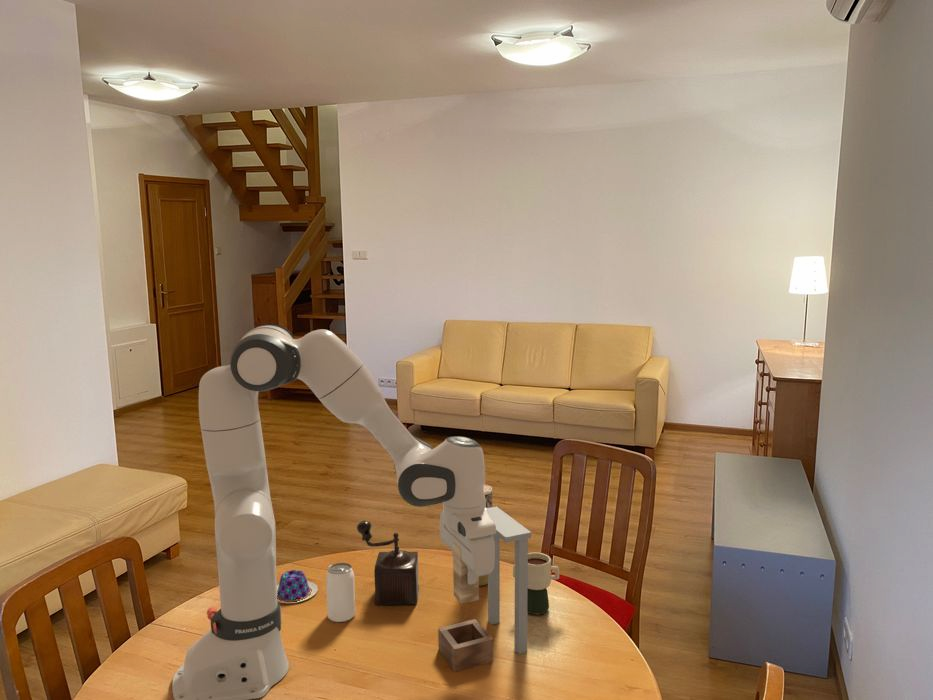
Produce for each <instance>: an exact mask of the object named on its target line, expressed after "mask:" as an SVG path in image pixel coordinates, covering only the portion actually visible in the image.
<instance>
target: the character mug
mask: <svg viewBox="0 0 933 700" xmlns="http://www.w3.org/2000/svg"><path fill="white" fill-rule="evenodd" d="M552 571H554V574H552ZM512 576H513V578H514V579H515V564H514V565H513V568H512ZM559 579H560V567H559V566H557V565H552V558H551V556H549V555H548V554H545V553H542V552H529V553H528V591H527V613H529V614H532V615H541V614H544V613H546V612H547V611H548V610H549V608H550V602H549V601H550V600H549V595H548V593H549V592H548V589H547V588H549V587H550V584H551V582H552V580H559Z"/></svg>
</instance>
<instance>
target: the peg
mask: <svg viewBox="0 0 933 700" xmlns="http://www.w3.org/2000/svg"><path fill="white" fill-rule="evenodd" d="M452 564H453V565H452V568H453V569H452V570H453V571H452V572H453V573H452V574H453V596H454V597H455V599H456V600H457V601H458V602H459V603H460V604H461V605H464V604H467V603H472V602H475V601H476V602H477V601H479V600H480V586H479V576H476V583H475V584H471V585H469V584H468V583H467V582H466V574H467V573H468V569H467V566H466V565H465V564H464V563H463V562H462V560H461V549H460V548H459V547H458V546H457V545H456V544H455V543H454V542H453V555H452Z"/></svg>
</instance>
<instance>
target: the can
mask: <svg viewBox="0 0 933 700" xmlns="http://www.w3.org/2000/svg"><path fill="white" fill-rule="evenodd" d="M352 568H353V567H352V565H351V564H350V563H348V562H336V563H333V564H331V565H329V566H328V567H327V572H326V575H325V583H326V585H325V586H326V607H327V608H326V613H327V618H328V619H329V621H332V622H334V623H345V622H349V621H350V620H352V619H353V618H354V617H355V615H356V599H355V597H356V593H355V573H354V570H353V569H352Z"/></svg>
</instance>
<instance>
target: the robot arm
mask: <svg viewBox="0 0 933 700" xmlns="http://www.w3.org/2000/svg"><path fill="white" fill-rule="evenodd" d="M229 358H230V359H229V364H228V365H221V366H217V367H214V368H212V369H210V370H208V371H207V372H205V373H204V374H203V375H202V377H201V378H200V381H199V385H198V416H199V417H198V419H199V425H200V431H201V438H202V444H203V452H204V456H205V457H204V459H205V464H206V469H207V473H208V477H209V483H210V487H211V492H212V494H211V495H212V500H213V505H214V539H215V549H216V550H215V551H216V561H217V572H218V585H219V586H218V587H219V588H218V589H219V602H220V605H219V606H220V608H219V610H218V609H217V608H216V607H215V606H210V607H209V608H208V609H207V610H206V615H207V616H206V617H207V619H208V620H209V621H210V629H209V630H208V631H206V633H204V634H203V635H202V636H201V637H200V638H199V639H197V640H196V641H195V642H194V643H193V644H191V645H190V647H189V648H188V650H187V652H186V655H185V658H184V662H183V663H184V664H183V665H181V666H180V667H179V668H178V669H177V670H176V672H175V673H174V675H173V677H172V684H171V691H172V697H173V700H253V699H254V700H255V699H260V698H263V697H265V695H266V694H267V693H268V692H269V691H270V689H271V688H272V687H273V686H274V685H276V684H277V683H278V682H280V681H281V680H282V679H283V678H284V677H285V676H286V675H287V673H288V672H289V668H290V662H289V660H288V657H287V654H286V652H285V649H284V648H285V647H284V644H283V640H282V633H281V630H282V610H281V609H282V608H281V603H279V601H278V599H279V598H278V597H277V596H278V594H277V585H278V583H277V582H278V581H277V579H278V578H277V542H276V541H277V539H276V537H277V536H276V535H277V534H276V532H277V531H276V519H275V515H274V509H273V504H272V499H271V498H272V497H271V489H270V484H269V476H268V468H267V460H266V459H267V457H266V452H265V451H266V450H265V445H264V437H263V429H262V421H261V416H260V415H261V414H260V409H259V392H266V391H270V390H274V389H277V388H279V387H281V386H283V385H287V384H290V383H294V382H295V381H296V380H299V381H302V382H303V383H304V384H305V385H306V386H308V388H309V389H310V390H311V392H312V393H313V394H314V395H315V397H316V398H317V399H318V400H319V401H320V403H322V405H323V406H324V407H325V408H326V409H327V410H328V411H329V412H330V413H331V414H332V415H334V417H335V418H336V419H338V420H340V421H341V422H343V423H345V424H356V425H360V426H363V427H364V428H365V429H367V430H368V431H369V432H370V434H371V435H373V437H374V438H375V439H376V440H377V442H379V444H380V445H381V447H383V449H385V452H387V453H388V454H389V456H390V457H391V460H392V462H393V468H394V471H395V474H396V480H397V481H396V483H397V490H398V493H399V495H400V496H401V498H402V499H403V501H404V502H406V503H407V504H409V505H411V506H414V507H420V508H421V507H428V506H434V505H438V504H441V503H442V511H441V512H440V515H439V517H440V519H439V537H440V541H441V542H442V543H443V544H444V545H445V546H446V547H447V548H448V549H449V550H450V551H451V553H452V556H453V542H454V543H455V544H456V545H457V546H458V547H459V548H460V549H461V560H462V562H463V563H464V564H465V565H466V566H467V569H468V573H467V574H466V582H467V583H468V584H469V585H471V584H475V583H476V576H483V575H487V574H491V573H492V571H493V570H494V563H495V543H494V538H493V536H492V535H493V534H496V525H495V523H494V522H493V520H492V519H491V517H490V515H489V513H488V510H487V508H486V499H485V495H484V485H486V465H485V455H484V450H483V447H482V446H481V445H480V444H479V442H477V441H476V440H474V439H472V438H470V437H466V436H458V435H457V436H456V435H454V436H449V437H446V438H445V439H444V441H443V442H441V443H440V444H438V445H437V446H436V447H434V446H432V445H431V444H429V443H428V442H426V441H424V440H421V439H420V438H418V437H416V436H414V434H412V433H411V432H410V431H409V429H408V428H407V427H406V426H405V425H404V423H403V422H402V421H401V420H400V419H399V418H398V416H397V415H396V414H395V413H394V412H393V410H392V409H391V408H390V407H389V405H388V403H387V401H386V399H385V397H384V395H383V393H382V392H383V391H381V388H380V387H379V385H378V382H377V381H376V380H375V378H374V376H373V374H372V373H371V372H370V370H369V369H368V368H367V366H366V365H365V364H364V363H363V361H362V360H361V359H360V357H359V356H358V355H357V354H356V353H355V352H354V351H353V350H352V349H351V348H350V347H349V345H347V344H346V343H345V342H344V340H342V339H341V338H339V337H338V336H337V335H336V334H335V333H334V332H332V331H331V330H328V329H323V328H322V329H321V328H320V329H316V330H312V331H310V332H308V333H306V334H304V336H302V337H299V338H295V337H294V335H293V333H292V332H291V331H290V330H288V329H287V328H286V327H284V326H283V325H279V324H276V323H264V324H261V325H258V326H256V327H255V328H253V329H251V330H249V331H248V332H247V333H245V334H244V335H243V336H242V337H241V339H239V341H238V342H237V343H236V345H235V346H234V347H233V349H232V351H231V355H230V357H229ZM277 598H278V599H277Z"/></svg>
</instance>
